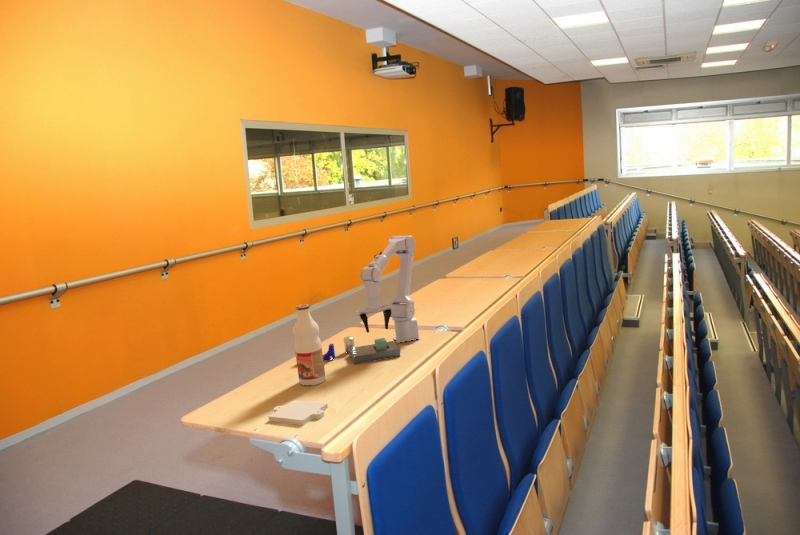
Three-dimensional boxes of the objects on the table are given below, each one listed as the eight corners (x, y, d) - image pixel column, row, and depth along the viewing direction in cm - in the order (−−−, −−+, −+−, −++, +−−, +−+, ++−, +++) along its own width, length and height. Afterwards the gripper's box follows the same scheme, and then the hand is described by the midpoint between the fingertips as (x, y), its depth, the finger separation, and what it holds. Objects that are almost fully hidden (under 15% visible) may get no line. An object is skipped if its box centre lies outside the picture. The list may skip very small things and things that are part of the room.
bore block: (393, 348, 246) (392, 340, 246) (400, 356, 235) (399, 348, 234) (349, 355, 243) (348, 348, 242) (354, 364, 231) (353, 356, 231)
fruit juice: (328, 382, 214) (318, 305, 209) (302, 388, 211) (291, 310, 206) (323, 375, 223) (313, 300, 218) (297, 380, 220) (287, 305, 215)
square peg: (385, 352, 242) (384, 337, 241) (388, 355, 238) (386, 340, 237) (376, 354, 241) (374, 339, 240) (378, 356, 237) (376, 342, 236)
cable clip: (303, 364, 239) (301, 349, 238) (305, 360, 243) (303, 346, 242) (333, 361, 238) (331, 346, 237) (335, 357, 242) (333, 343, 241)
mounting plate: (334, 409, 190) (333, 404, 190) (310, 427, 179) (309, 421, 178) (288, 405, 198) (287, 399, 198) (262, 421, 187) (261, 415, 187)
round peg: (354, 349, 250) (352, 335, 249) (355, 352, 246) (354, 338, 245) (344, 351, 249) (343, 337, 248) (346, 354, 245) (344, 339, 244)
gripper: (356, 301, 233) (361, 335, 235) (393, 296, 236) (397, 329, 238) (353, 298, 239) (357, 331, 242) (389, 292, 243) (393, 325, 245)
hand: (377, 330), depth 240 cm, fingers open, 7 cm apart
